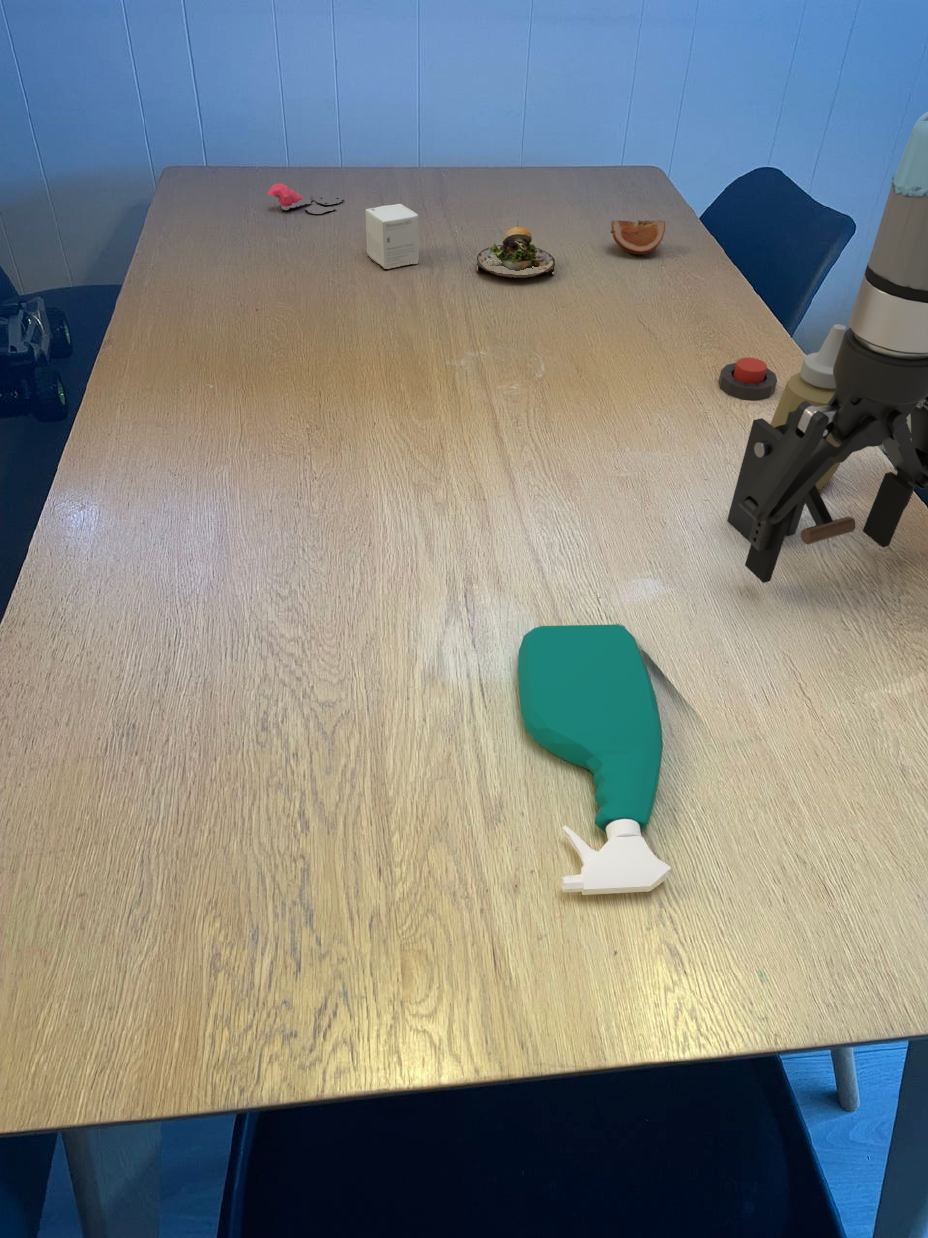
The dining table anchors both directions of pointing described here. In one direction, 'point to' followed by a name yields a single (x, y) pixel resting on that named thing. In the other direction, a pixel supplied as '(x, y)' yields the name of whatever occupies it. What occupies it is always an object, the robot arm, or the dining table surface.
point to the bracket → (754, 458)
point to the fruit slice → (638, 235)
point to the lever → (821, 514)
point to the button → (750, 370)
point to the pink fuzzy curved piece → (284, 194)
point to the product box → (392, 234)
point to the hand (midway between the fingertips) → (817, 555)
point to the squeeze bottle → (813, 386)
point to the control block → (746, 385)
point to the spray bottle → (599, 742)
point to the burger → (516, 254)
